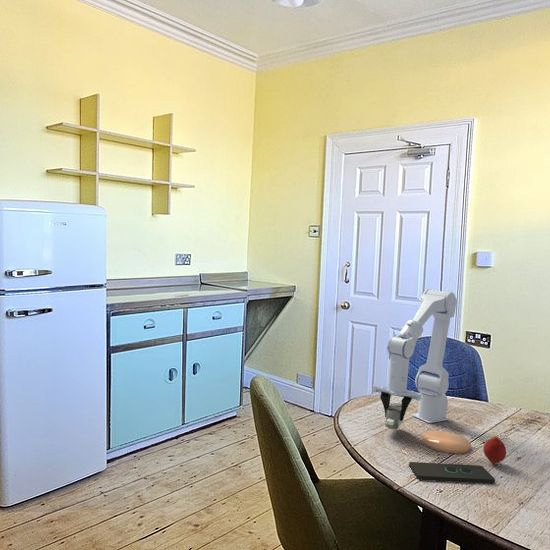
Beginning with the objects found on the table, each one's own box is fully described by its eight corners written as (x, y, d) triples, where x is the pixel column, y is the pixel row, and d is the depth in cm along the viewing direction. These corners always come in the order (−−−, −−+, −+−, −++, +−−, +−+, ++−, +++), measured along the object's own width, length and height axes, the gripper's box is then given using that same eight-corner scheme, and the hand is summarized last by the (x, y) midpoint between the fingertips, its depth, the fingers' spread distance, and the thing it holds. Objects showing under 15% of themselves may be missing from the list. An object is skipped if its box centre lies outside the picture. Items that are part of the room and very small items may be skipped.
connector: (390, 417, 165) (392, 402, 165) (403, 419, 164) (404, 404, 163) (382, 429, 154) (383, 413, 154) (395, 432, 152) (397, 416, 152)
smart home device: (496, 479, 129) (418, 475, 128) (495, 485, 129) (417, 482, 128) (481, 464, 137) (408, 460, 137) (481, 470, 138) (407, 467, 137)
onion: (503, 461, 143) (506, 433, 143) (505, 470, 138) (509, 441, 137) (481, 457, 145) (484, 430, 145) (482, 465, 140) (485, 437, 139)
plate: (443, 432, 163) (443, 428, 163) (480, 449, 151) (481, 445, 151) (411, 438, 156) (412, 434, 156) (448, 456, 144) (448, 452, 144)
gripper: (372, 374, 158) (368, 417, 159) (420, 383, 152) (415, 427, 153) (377, 369, 164) (373, 410, 166) (423, 377, 159) (419, 420, 160)
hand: (394, 418), depth 160 cm, fingers closed on connector, 4 cm apart
